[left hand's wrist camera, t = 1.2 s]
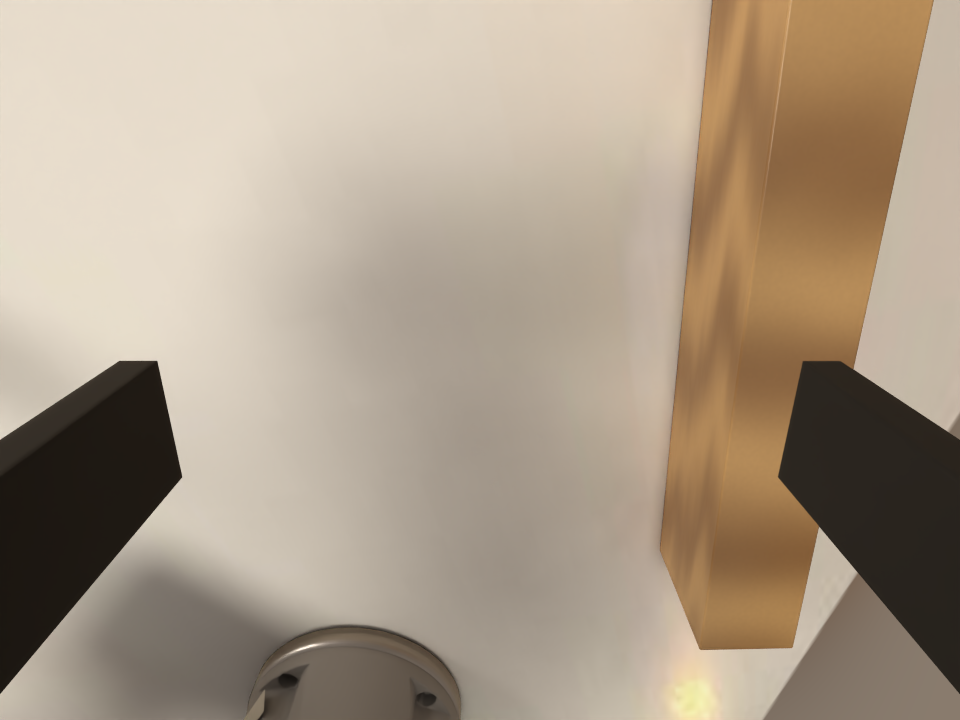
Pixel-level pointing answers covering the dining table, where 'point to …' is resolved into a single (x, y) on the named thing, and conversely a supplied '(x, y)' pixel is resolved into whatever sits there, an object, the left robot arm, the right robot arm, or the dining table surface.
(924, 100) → the dining table surface
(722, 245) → the post
